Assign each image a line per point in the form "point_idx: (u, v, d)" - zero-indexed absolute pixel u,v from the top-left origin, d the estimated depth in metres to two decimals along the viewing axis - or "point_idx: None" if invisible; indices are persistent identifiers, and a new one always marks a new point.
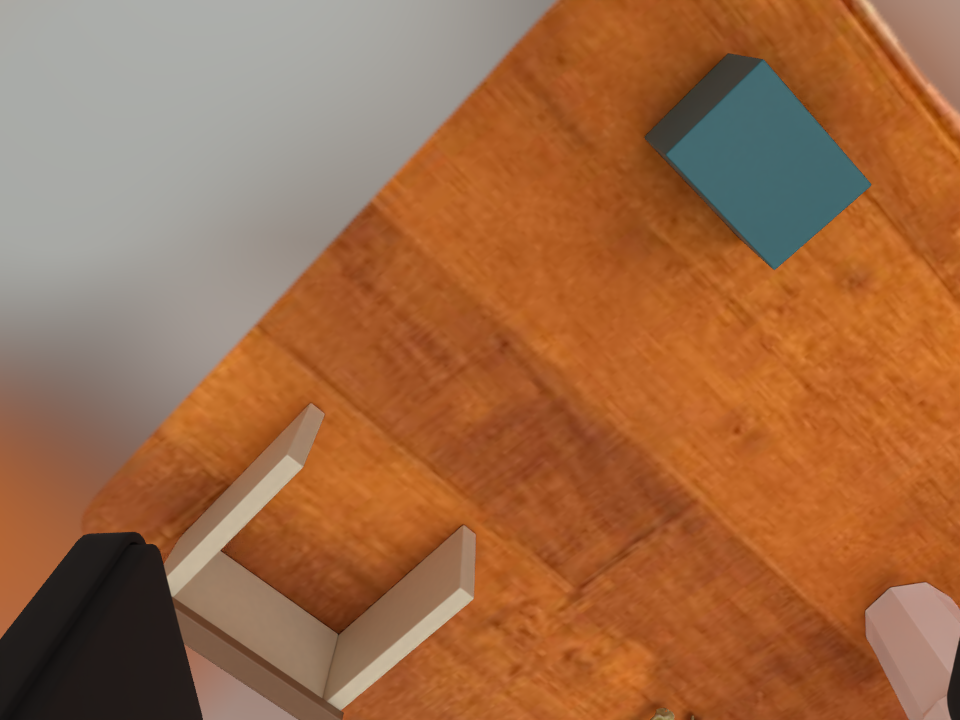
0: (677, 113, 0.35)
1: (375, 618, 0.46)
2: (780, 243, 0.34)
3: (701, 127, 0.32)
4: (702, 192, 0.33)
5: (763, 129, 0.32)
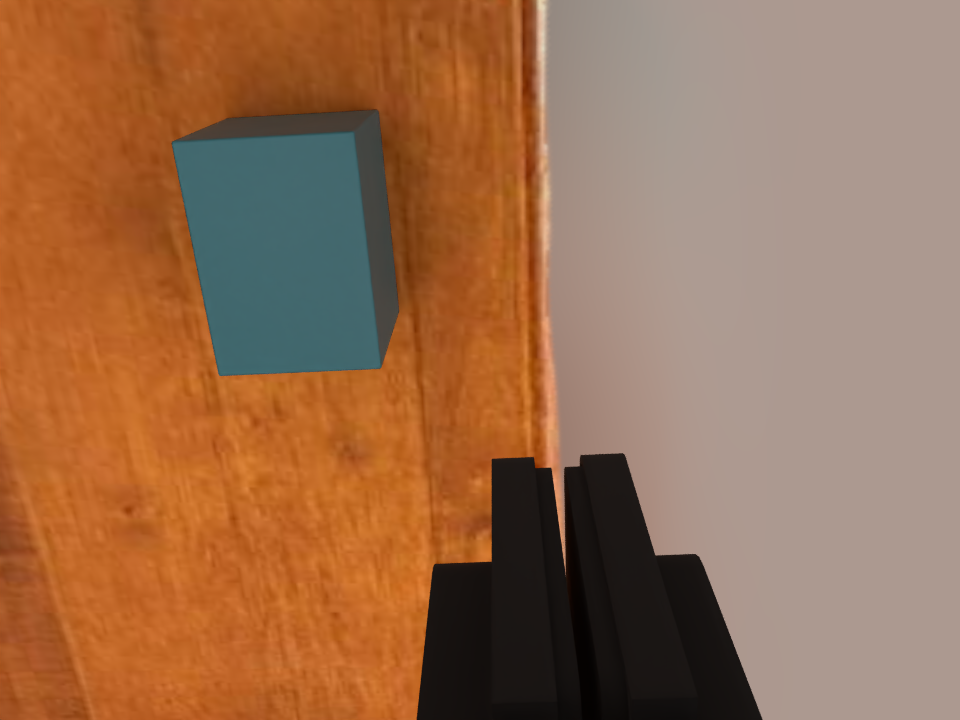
0: (265, 120, 0.25)
1: None
2: (243, 352, 0.24)
3: (234, 146, 0.22)
4: (189, 223, 0.23)
5: (304, 210, 0.23)
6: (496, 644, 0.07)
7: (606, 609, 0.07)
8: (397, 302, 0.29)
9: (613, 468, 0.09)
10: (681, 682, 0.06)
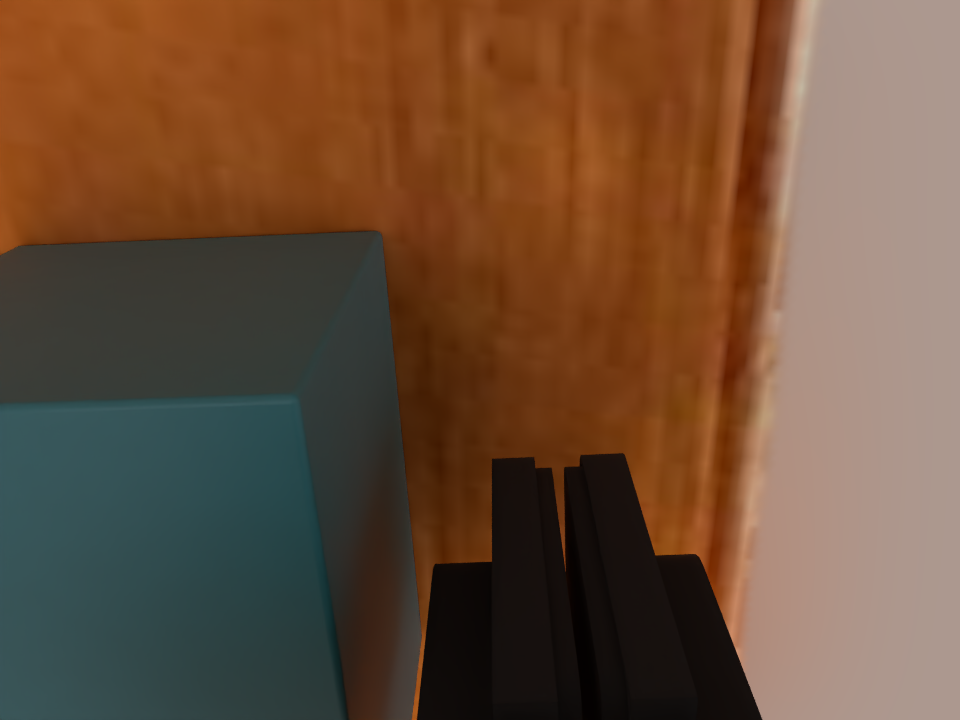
0: (88, 271, 0.10)
1: None
2: None
3: None
4: None
5: (144, 611, 0.07)
6: (496, 644, 0.07)
7: (606, 609, 0.07)
8: (419, 625, 0.13)
9: (613, 468, 0.09)
10: (680, 681, 0.06)
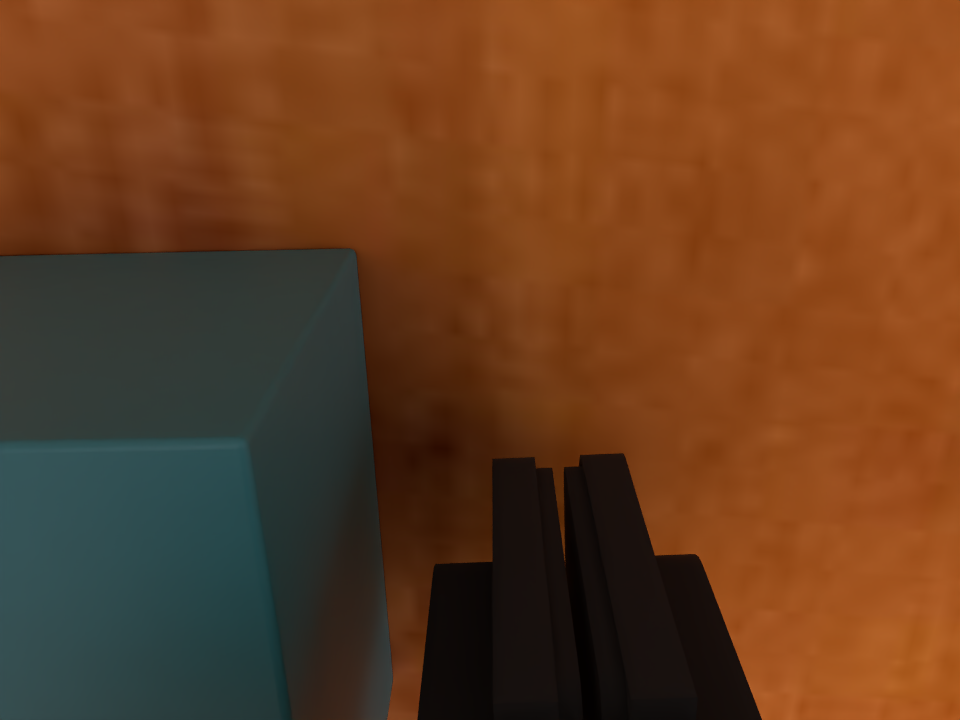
0: (32, 287, 0.09)
1: None
2: None
3: None
4: None
5: (71, 676, 0.06)
6: (497, 644, 0.07)
7: (606, 609, 0.07)
8: (390, 667, 0.12)
9: (613, 468, 0.09)
10: (681, 682, 0.06)
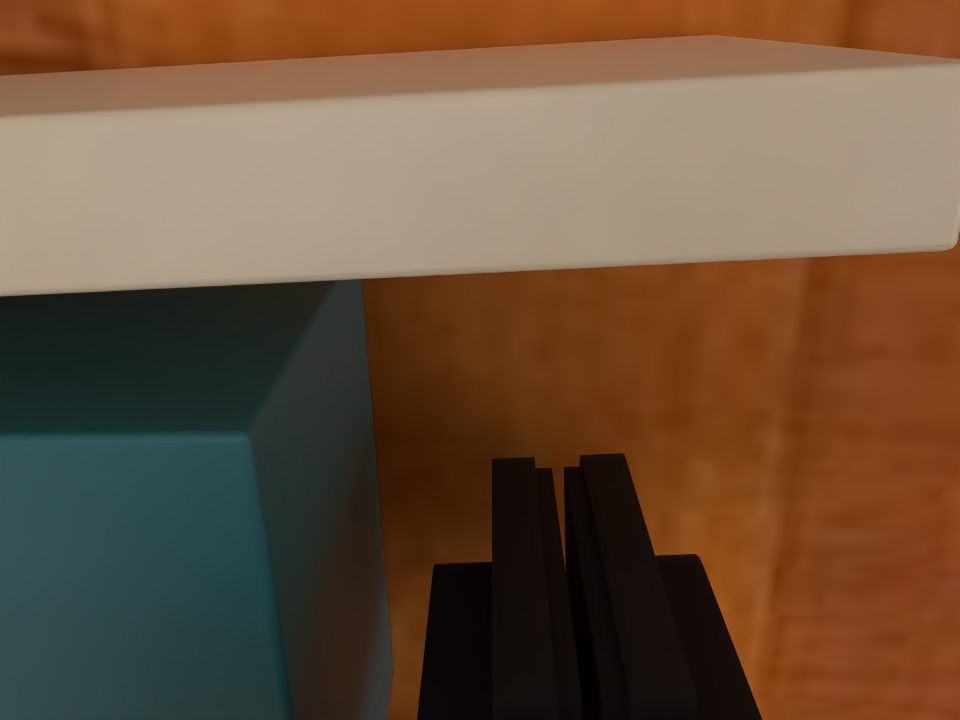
0: None
1: None
2: None
3: None
4: None
5: (75, 666, 0.06)
6: (496, 644, 0.07)
7: (606, 609, 0.07)
8: (390, 661, 0.12)
9: (613, 468, 0.09)
10: (681, 682, 0.06)
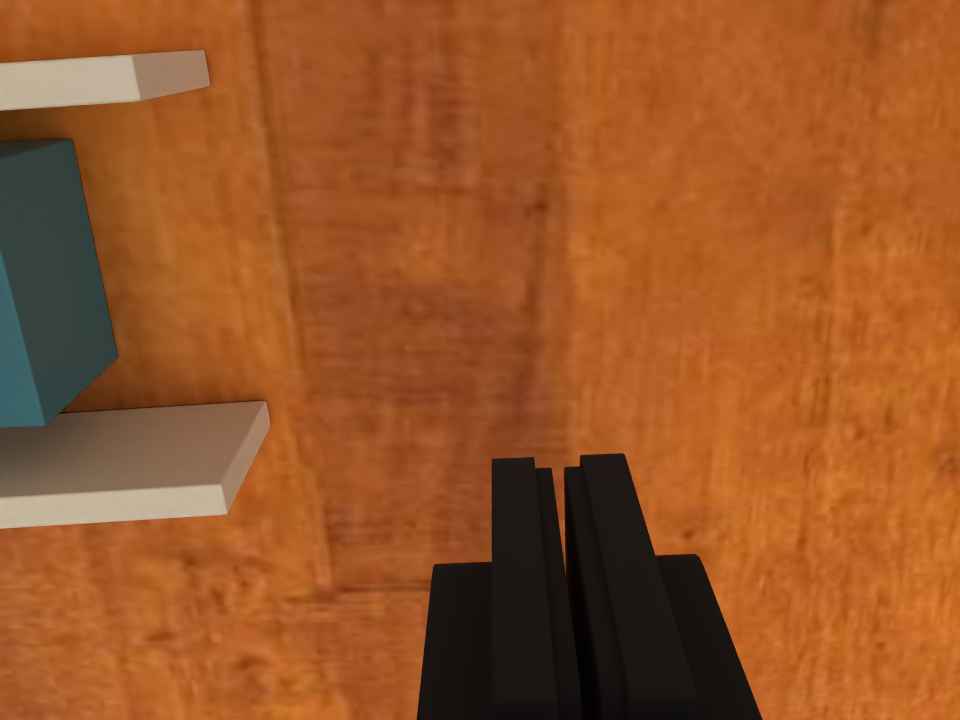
0: None
1: (26, 436, 0.26)
2: None
3: None
4: None
5: None
6: (496, 644, 0.07)
7: (606, 609, 0.07)
8: (113, 348, 0.26)
9: (613, 468, 0.09)
10: (682, 682, 0.06)
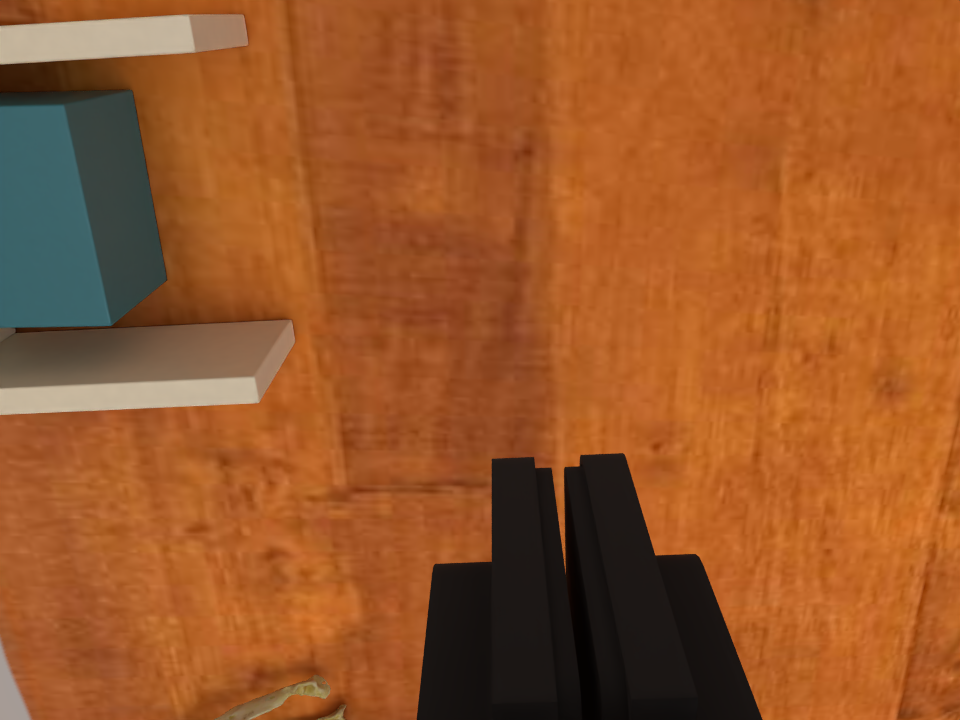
0: (17, 95, 0.27)
1: (90, 344, 0.30)
2: None
3: None
4: None
5: (25, 176, 0.25)
6: (495, 644, 0.07)
7: (606, 609, 0.07)
8: (163, 270, 0.31)
9: (613, 468, 0.09)
10: (681, 682, 0.06)
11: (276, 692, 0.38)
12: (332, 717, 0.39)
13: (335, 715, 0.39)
